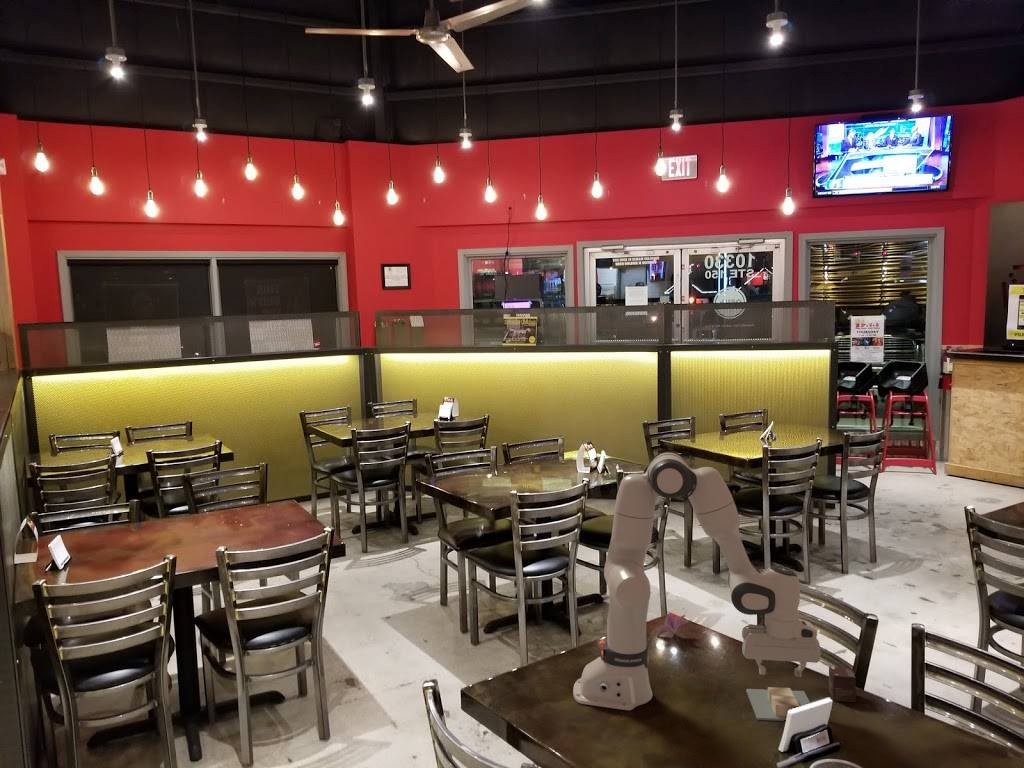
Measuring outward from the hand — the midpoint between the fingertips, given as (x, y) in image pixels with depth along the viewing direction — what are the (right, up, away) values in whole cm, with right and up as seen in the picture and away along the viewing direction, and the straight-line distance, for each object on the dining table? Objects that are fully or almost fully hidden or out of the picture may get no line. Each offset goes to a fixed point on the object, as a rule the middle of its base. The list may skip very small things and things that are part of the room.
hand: (780, 674), depth 206 cm
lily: (-20, -6, +46) cm, 50 cm away
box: (+19, -9, +5) cm, 22 cm away
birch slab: (+1, -7, +4) cm, 8 cm away
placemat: (+1, -9, +1) cm, 9 cm away
